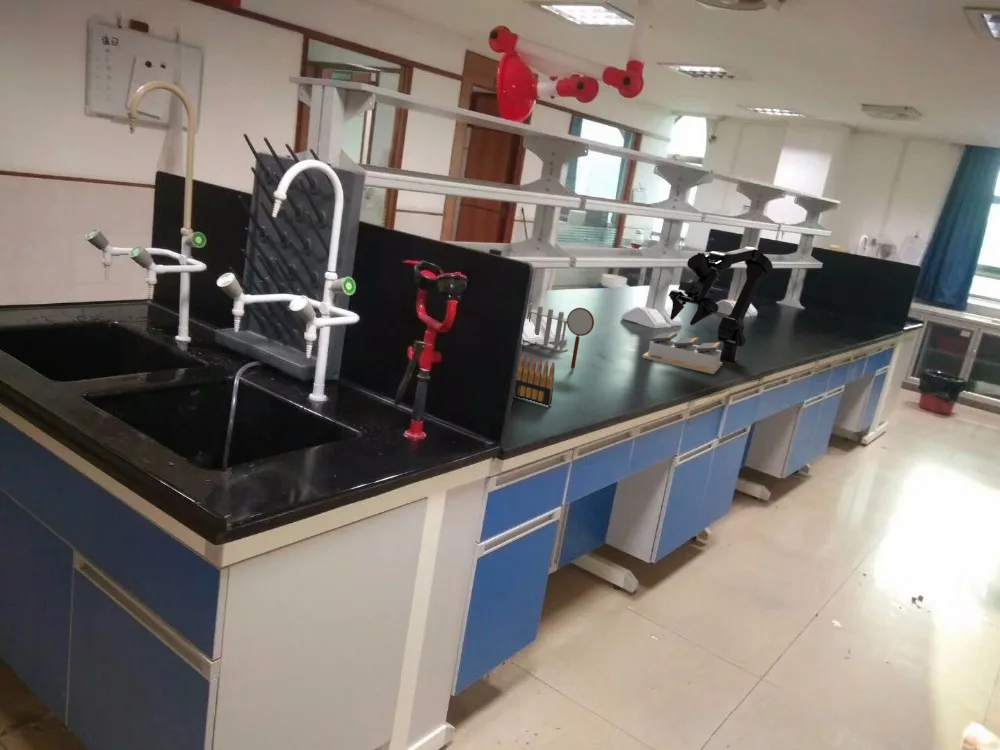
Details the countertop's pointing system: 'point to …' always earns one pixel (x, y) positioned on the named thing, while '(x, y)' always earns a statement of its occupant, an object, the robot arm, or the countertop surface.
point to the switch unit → (684, 356)
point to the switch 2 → (709, 346)
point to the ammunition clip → (535, 381)
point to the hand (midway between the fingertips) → (680, 322)
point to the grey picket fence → (548, 327)
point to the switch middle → (686, 342)
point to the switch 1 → (664, 337)
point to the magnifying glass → (579, 327)
